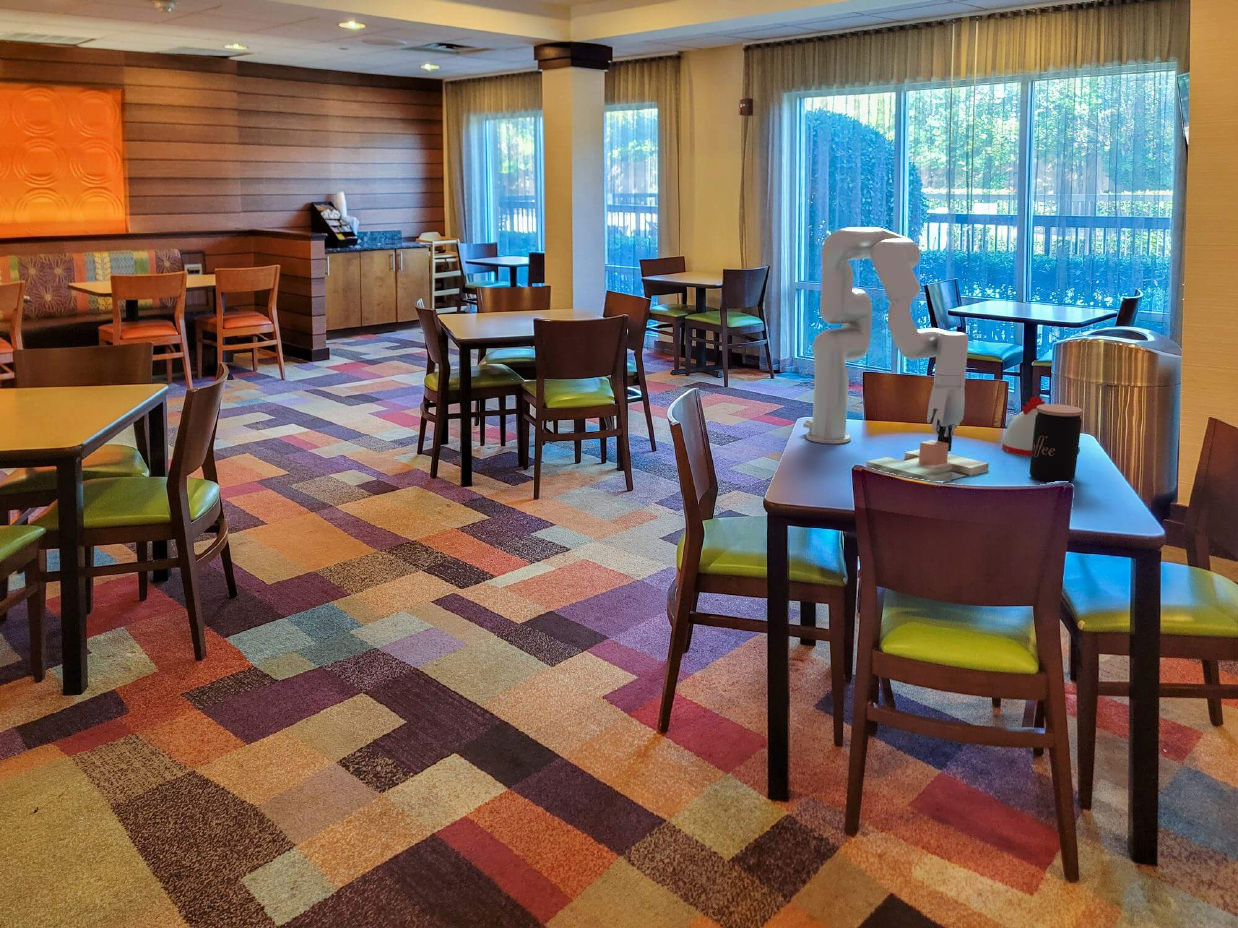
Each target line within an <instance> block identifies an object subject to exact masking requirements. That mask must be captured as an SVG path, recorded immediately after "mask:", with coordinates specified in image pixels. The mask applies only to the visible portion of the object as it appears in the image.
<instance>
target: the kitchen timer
mask: <svg viewBox="0 0 1238 928" xmlns="http://www.w3.org/2000/svg"><path fill="white" fill-rule="evenodd" d="M1025 404H1026V406H1022V411H1021V412H1019V413H1018V414H1017V415H1016V416H1015V417H1014V418H1013V419H1012V420H1011V422H1009V423H1007V425H1006V431H1005V433H1004V436H1003V439H1002V444H1001V445H1002V446H1001V448H1002V450H1003V451H1005V452H1006V453H1010V454H1014V455H1020V456H1025V457H1031V453H1032V444H1033V435H1034V426H1035V417H1036V415H1037V414H1038V412H1037V406H1038V405H1043V404H1046V401H1045V400H1043V397H1041V396H1038V397H1036V396H1034V397H1030V399H1029V401H1026V402H1025Z"/></svg>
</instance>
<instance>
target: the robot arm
mask: <svg viewBox="0 0 1238 928" xmlns="http://www.w3.org/2000/svg"><path fill="white" fill-rule="evenodd" d="M820 255H821V273H822V274H821V285H820V288H821V289H820V290H821V291H820V306H819V307H820V311H819V312H820V317H821V319H822V321H824V322H825V323H827V324H829V325H840V324H841V325H842V327H838V328H837V327H836V328H832V329H826V330H823V331H821V332H820V333H818V334H817V335H816V337H815V338H814V340H813V344H812V352H813V353H812V354H813V361H814V382H813V383H814V387H813V404H812V405H813V406H812V420H809V419H807V420H806V421H805V422H804V423H803V425H802V426H803V428H804V429H805V428H806V429H808V432H807V433H806V435H805V436H806V437H805V438H806V439H807V440H809V441H811V442H814V443H819V444H820V443H821V444H832V445H833V444H844V443H849V442H850V441H851V440H852V437H851V435H850V434H849V433H846V432H847V418H848V417H847V416H848V400H849V388H850V387H849V385H850V384H849V383H850V380H849V379H850V377H849V372H848V369H847V366H846V362H851V361H853V362H854V361H857V360H860V359H862V358H864V357H865V356H866V355H867V354H868V351H869V348H870V344H871V334H872V333H871V332H872V322H873V321H872V319H873V304H872V300H871V298H870V296H869V294H868V293H867V292H866V291H864V290H863V289H860V288H853V286H854V284H853V283H854V282H853V281H854V272H853V268H852V265H851V263H850V261H851V260H865V259H866V260H868V259H869V260H871V262H872V265H873V267H874V270H875V271H876V274H877V276H878V278H879V281H880V283H881V285H882V288H883V290H884V293H885V294H886V296H887V299H888V301H889V304H888V311H887V312H888V313H887V324H888V325H887V326H888V330H889V333H890V336H891V337H892V340H893V342H894V344H895V346H896V348H897V350H898V351H899V353H900V354H901V355H902V356H903V357H904V358H905V359H908V360H919V359H929V358H935V365H934V367H935V369H934V378H933V379H934V381H933V386H932V388H931V391H930V395H929V400H928V401H929V402H928V407H927V417H926V419H927V420H926V422H927V424H928V425H929V424H930V425H931V431H936V436H937V441H940V442H945V443H949V445H948V452H951V451H952V445H953V444H952V441H953V436H954V433H955V429H956V428H957V427H959V426H960V424H961V422H963V420H964V415H965V408H966V407H965V405H966V403H965V402H966V400H965V399H966V398H965V397H966V396H965V385H966V374H967V362H968V361H967V360H968V351H969V350H968V349H969V336H968V335H967V334H966V333H965V332H961V331H947V330H944V329H941V328H936V327H929V328H917V326H916V324H915V322H914V320H913V318H912V314H911V305H912V303H913V300H914V298H916V297H917V296H918V295H919V294H920V292H921V285H920V283H919V282H918V278H917V277H916V274H915V272H914V270H913V269H914V268H915V267H917V265H918V264H919V262H920V259H921V251H920V248H919V246H918V245H917V243H916V242H915V241H914V240H912V239H910V238H908V237H905V236H904V235H900V234H897V233H895V232H892V231H890V230H887V229H884V228H881V227H875V226H874V227H873V226H870V227H869V226H865V227H864V226H862V227H859V226H857V227H855V226H854V227H844V228H839V229H837V230H835V231H833V232H831V234H829V235H828V236H827V237H826V239H825V240H824V242H823V245H822V247H821V254H820Z"/></svg>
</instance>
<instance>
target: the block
mask: <svg viewBox="0 0 1238 928" xmlns="http://www.w3.org/2000/svg"><path fill="white" fill-rule="evenodd" d="M948 445H949V443H945V442H940V441H938V440H935V439H929V440H926V441H921V442H920V444H919V449H920V453H919V461H920V462H924V463H928V464H932V465H938V464H942V463H946V462H947V457H948V454H949V451H948Z"/></svg>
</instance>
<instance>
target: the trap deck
mask: <svg viewBox="0 0 1238 928" xmlns="http://www.w3.org/2000/svg"><path fill="white" fill-rule="evenodd" d="M919 453H920V448H918V449H914V450H911V451H905V452H904V458H903V459H896V458H892V457H888V456H884V457H880V458H875V459H871V460H867V461H866V463H865V468H866V467H868V468H874V469H876V470H881V471H883V472H889V473H894V474H896V475H901V476H905V477H912V478H918V479H924V480H930V481H948V482H952V481H955V480H960V479H962V478H967V477H970V476H974V475H977V474H981V473H985V472H989V465H990V464H989V462H985V461H981V460H976V459H974V458H973V459H971V458H969V457H968V458H967V457H963V456H958V455H955V454H951V453H948V457H947V462H946V463H942V464H938V465H932V464H928V463H924V462H920V461H919ZM951 480H952V481H951Z"/></svg>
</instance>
